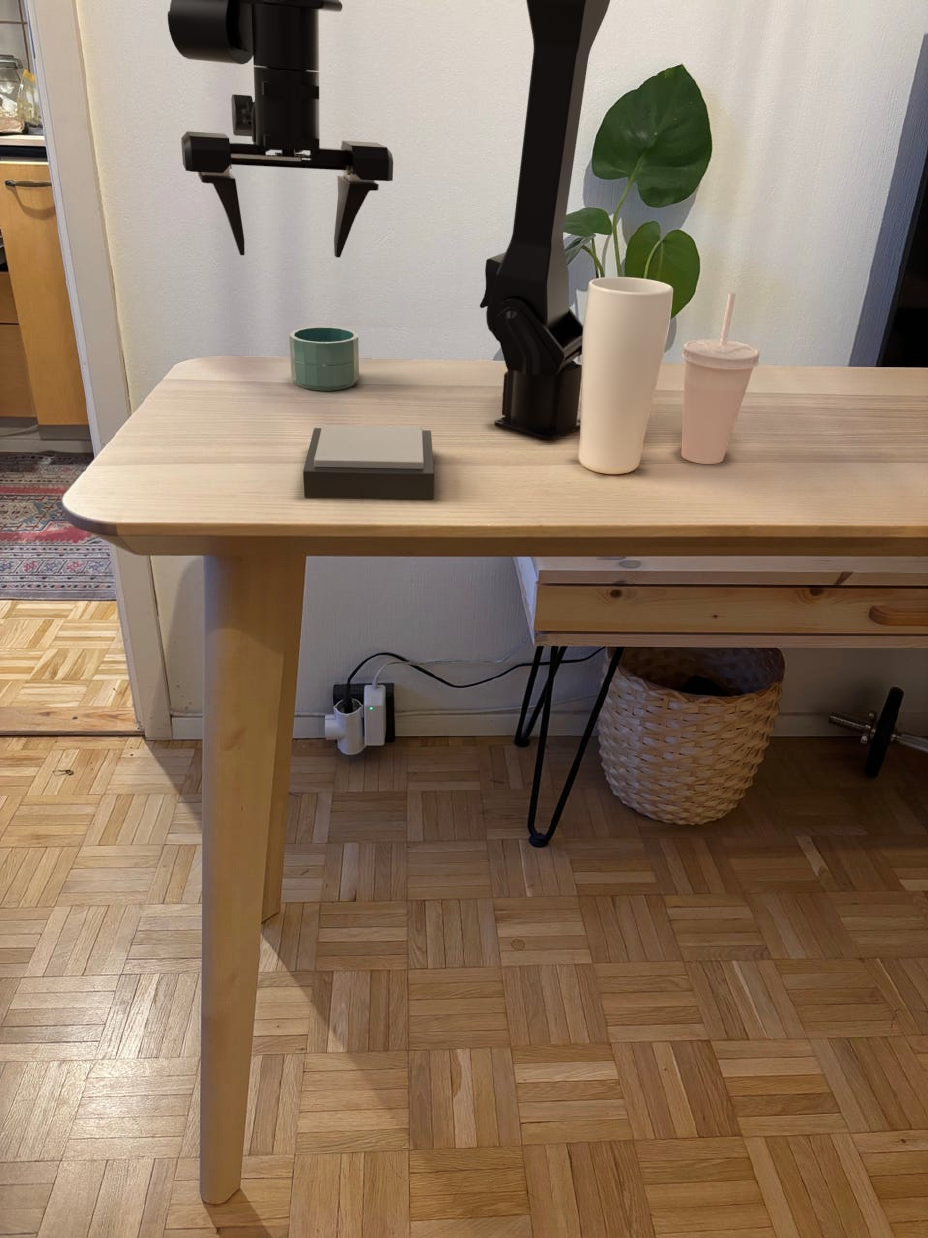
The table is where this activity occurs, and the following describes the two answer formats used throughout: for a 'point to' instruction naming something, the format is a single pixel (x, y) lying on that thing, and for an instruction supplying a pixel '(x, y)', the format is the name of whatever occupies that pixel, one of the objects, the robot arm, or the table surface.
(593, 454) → the white tumbler
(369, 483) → the scale
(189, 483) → the table surface
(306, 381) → the bowl
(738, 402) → the smoothie
